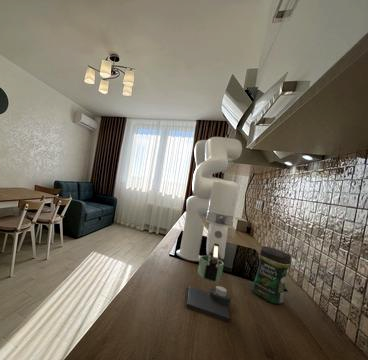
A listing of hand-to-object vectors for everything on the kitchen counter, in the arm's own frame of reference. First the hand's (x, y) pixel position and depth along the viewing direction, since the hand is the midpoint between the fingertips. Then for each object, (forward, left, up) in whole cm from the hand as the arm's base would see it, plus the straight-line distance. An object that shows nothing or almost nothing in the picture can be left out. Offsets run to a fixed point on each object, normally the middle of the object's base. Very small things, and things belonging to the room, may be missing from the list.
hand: (209, 273), depth 68 cm
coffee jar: (-21, +23, -10) cm, 33 cm away
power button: (-5, +5, -7) cm, 10 cm away
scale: (-1, +1, -10) cm, 10 cm away
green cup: (0, 0, -1) cm, 1 cm away
